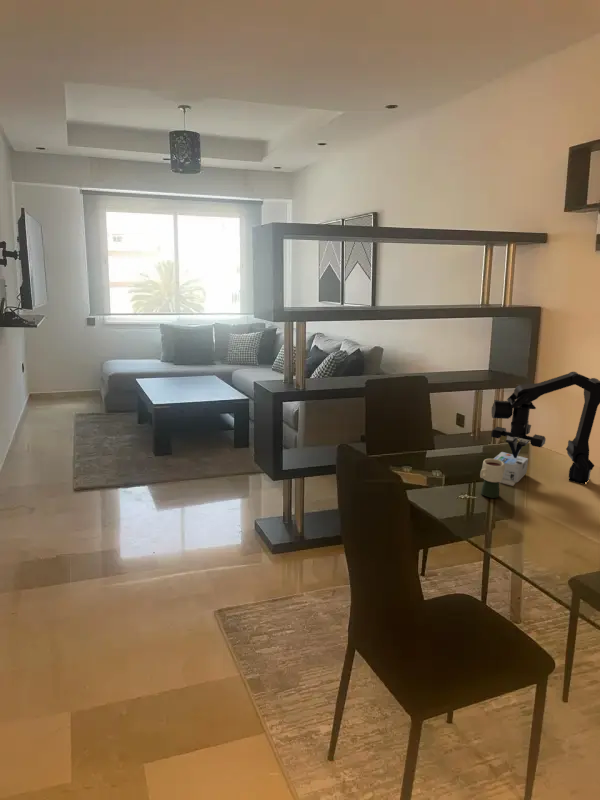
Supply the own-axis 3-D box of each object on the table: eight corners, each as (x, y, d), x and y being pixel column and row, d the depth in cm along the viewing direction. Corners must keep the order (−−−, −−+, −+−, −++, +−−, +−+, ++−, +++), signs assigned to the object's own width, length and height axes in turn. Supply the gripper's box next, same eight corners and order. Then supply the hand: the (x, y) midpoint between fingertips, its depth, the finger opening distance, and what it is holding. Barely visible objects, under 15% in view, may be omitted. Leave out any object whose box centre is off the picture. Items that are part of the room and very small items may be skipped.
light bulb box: (519, 466, 223) (491, 459, 229) (517, 483, 225) (489, 475, 231) (528, 458, 231) (501, 451, 237) (526, 473, 233) (499, 466, 239)
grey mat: (525, 471, 236) (525, 470, 235) (513, 485, 223) (513, 484, 223) (495, 464, 242) (495, 463, 242) (481, 477, 230) (481, 476, 230)
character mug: (494, 488, 221) (497, 456, 217) (508, 496, 215) (512, 463, 211) (471, 494, 216) (474, 461, 212) (485, 502, 210) (489, 468, 206)
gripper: (551, 418, 225) (546, 456, 229) (502, 408, 235) (497, 445, 240) (544, 426, 216) (538, 466, 221) (492, 416, 226) (488, 454, 231)
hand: (515, 457), depth 228 cm, fingers closed
